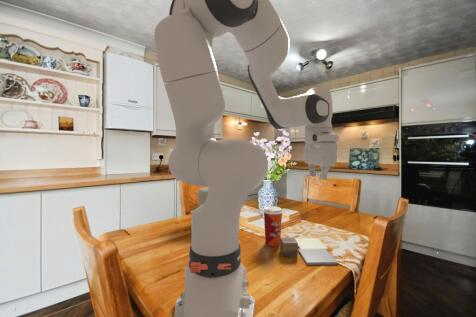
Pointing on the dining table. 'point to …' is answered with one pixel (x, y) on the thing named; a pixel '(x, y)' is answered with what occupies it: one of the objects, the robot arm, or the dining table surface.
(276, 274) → the dining table surface
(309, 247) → the pad
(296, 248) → the walnut cube
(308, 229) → the dining table surface
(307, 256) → the pad
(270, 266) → the dining table surface
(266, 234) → the paper cup
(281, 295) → the dining table surface
